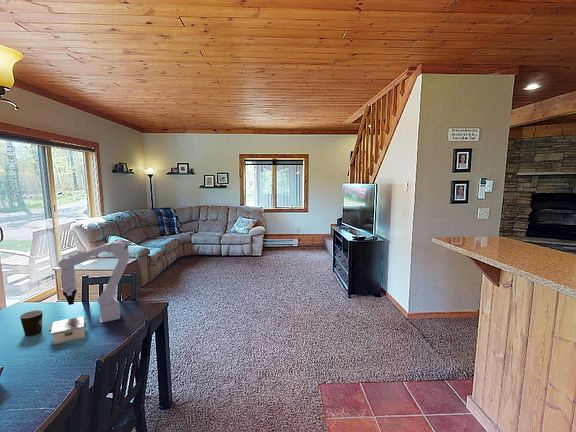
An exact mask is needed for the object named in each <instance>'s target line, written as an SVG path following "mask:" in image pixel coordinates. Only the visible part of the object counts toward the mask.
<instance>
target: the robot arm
mask: <svg viewBox="0 0 576 432" xmlns="http://www.w3.org/2000/svg"><path fill="white" fill-rule="evenodd" d="M129 252H130V251H129V244H128V243H127V242H126V241H125V240H124V239H121V238H120V239H116V240H113V241H112V240H111V241H109V242H107V243H104V244H102V245H100V246H97V247H95V248H92V249H90V250H81V249H80V250H78V251H77V252H76V253H73V254H69V255H67V256H65V257H63V258H62V259H61V260H59V262H58V267H59V268H60V272H61V283H62V288H60V292H63V293H62V295H63V296H64V297H65V298H66V299H65V300H66V301H67V304H68V306H71V305H74V304H75V297H76V294H77V292H78V291H77V288H78V287H77V281H76V278H77V277H76V270H75V266H77V265H80V264H83V263H85V262H87V261H89V260H90V258H91V257H93V256H96V255H99V254H101V253H108V254H110V253H111V254H113V255H114V256H115V257H116V258H117V260H118V261H117V263H116V265H115V268H114V270H113V272H112V274H111V276H110V278H109V281H108V282H107V284H106V286H105V287H104V290H103V291H102V293H101V294H100V295H99V296H98V298H97V303H98V305H99V314H100V315H99V322H100V324H102V323H107V322H111V321H114V320H119V319H121V308H120V301H119V300H115V296H116V291H117V290H116V289H117V287H118V285H119V283H120V280H121V278H122V276H123V274H124V272H125V269H126V267H127V265H128V264H129V261H130V253H129Z"/></svg>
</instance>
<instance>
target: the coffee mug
mask: <svg viewBox="0 0 576 432" xmlns="http://www.w3.org/2000/svg"><path fill="white" fill-rule="evenodd" d="M43 312H44V311H43V310H40V309H39V310H38V309H36V310H30V311H26V312H24V313H22V314H21V315H19V319H20V324H21V326H22V328H23V333H24V336H25V337H34V336H37V335H40V334H41V333H42V332H43V314H44V313H43Z"/></svg>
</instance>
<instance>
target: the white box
mask: <svg viewBox="0 0 576 432" xmlns="http://www.w3.org/2000/svg"><path fill="white" fill-rule="evenodd" d="M85 328H87V316H86V317H85V316H84V328H81V329H76V330H71V331H66V332H61V333H56V334H52V343H53V346H55V345H59V344H64V343H68V342H73V341H77V340H79V339H84V338H86V337H85V335H86V334H85V332H86V331H85Z"/></svg>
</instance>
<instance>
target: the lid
mask: <svg viewBox="0 0 576 432" xmlns="http://www.w3.org/2000/svg"><path fill="white" fill-rule="evenodd" d="M84 318H85V316H78V317H77V316H76V317H73V318H67V319H61V320H56V321H53V322H52V324H51V325H49V329H48V332H50V333H51V335H53V334H56V333H61V332H66V331H71V330H76V329H81V328H84V327H85V324H84Z"/></svg>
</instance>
